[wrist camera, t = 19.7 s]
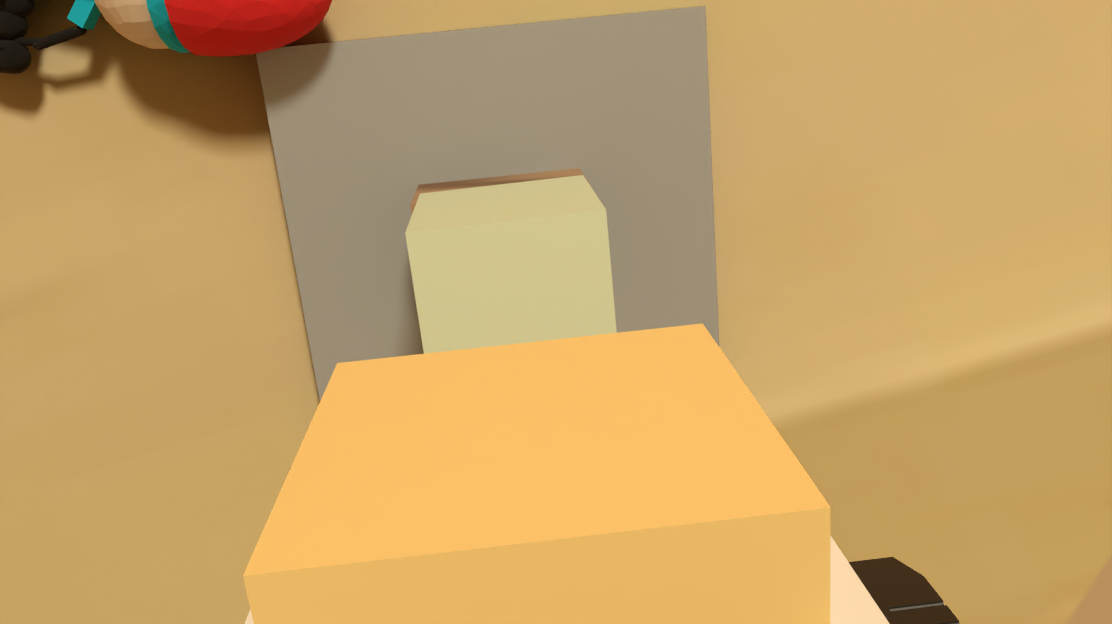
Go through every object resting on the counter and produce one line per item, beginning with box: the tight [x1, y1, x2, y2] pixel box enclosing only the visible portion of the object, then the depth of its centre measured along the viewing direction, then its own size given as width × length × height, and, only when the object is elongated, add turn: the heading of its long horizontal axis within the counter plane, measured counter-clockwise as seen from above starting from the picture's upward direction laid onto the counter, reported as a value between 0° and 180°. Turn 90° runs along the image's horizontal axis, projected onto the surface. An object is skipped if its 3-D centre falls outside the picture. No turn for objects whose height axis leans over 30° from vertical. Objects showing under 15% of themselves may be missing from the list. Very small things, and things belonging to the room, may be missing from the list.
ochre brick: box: [243, 323, 830, 624], centre depth 13 cm, size 6×6×6 cm
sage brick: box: [405, 175, 617, 354], centre depth 28 cm, size 5×6×6 cm
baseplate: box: [256, 6, 719, 401], centre depth 36 cm, size 16×16×1 cm
